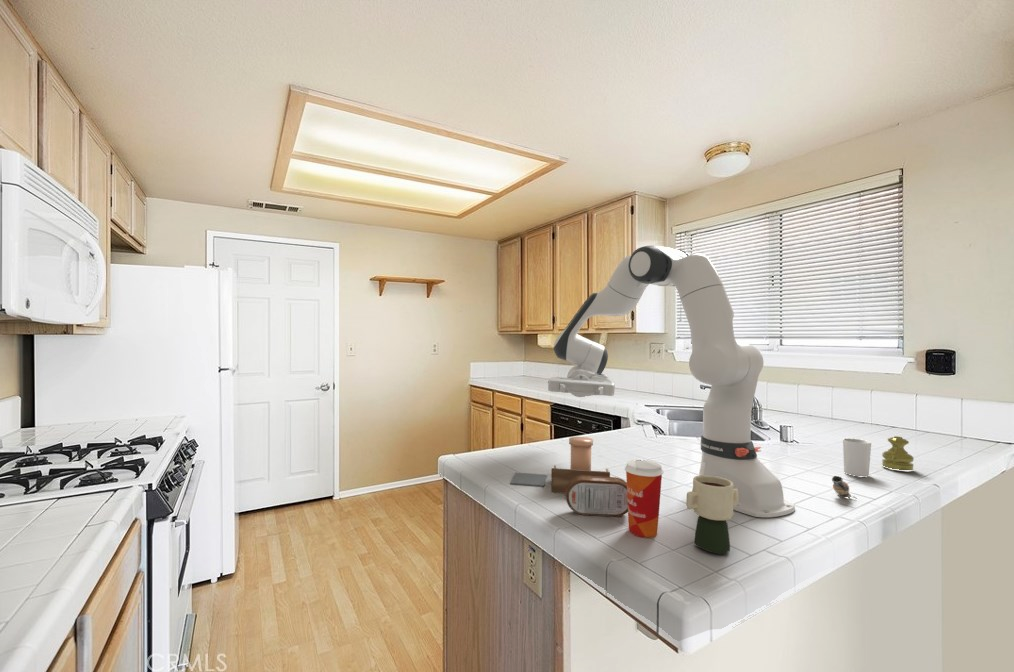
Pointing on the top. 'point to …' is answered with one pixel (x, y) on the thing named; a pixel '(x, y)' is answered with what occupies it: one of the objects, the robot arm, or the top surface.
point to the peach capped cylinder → (580, 453)
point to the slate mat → (529, 479)
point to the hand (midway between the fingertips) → (581, 391)
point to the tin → (597, 496)
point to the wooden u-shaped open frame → (570, 477)
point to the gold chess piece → (897, 455)
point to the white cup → (856, 456)
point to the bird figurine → (841, 487)
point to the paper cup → (643, 496)
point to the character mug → (712, 511)
